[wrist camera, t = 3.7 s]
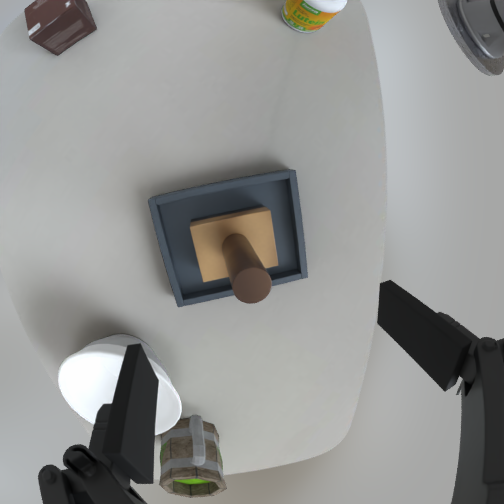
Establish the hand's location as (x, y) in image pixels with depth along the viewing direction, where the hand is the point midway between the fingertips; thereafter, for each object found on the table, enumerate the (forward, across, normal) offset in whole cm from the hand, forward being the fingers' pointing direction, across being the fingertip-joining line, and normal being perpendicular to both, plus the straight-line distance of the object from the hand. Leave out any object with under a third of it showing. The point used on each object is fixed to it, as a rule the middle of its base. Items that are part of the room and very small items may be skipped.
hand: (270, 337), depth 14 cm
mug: (+20, -14, -32) cm, 40 cm away
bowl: (+20, -18, -14) cm, 30 cm away
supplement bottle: (+19, +13, +26) cm, 35 cm away
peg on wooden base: (+18, 0, 0) cm, 19 cm away
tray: (+19, 0, 0) cm, 19 cm away
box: (+19, -15, +31) cm, 39 cm away
